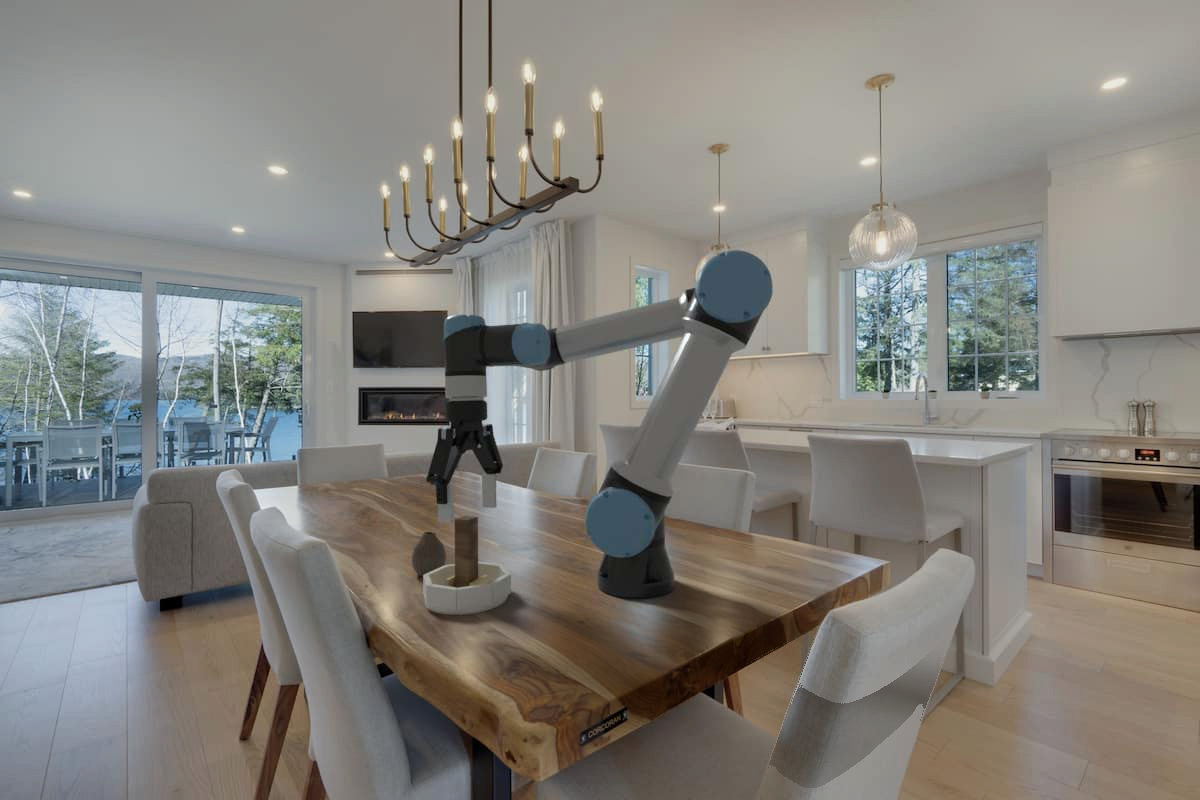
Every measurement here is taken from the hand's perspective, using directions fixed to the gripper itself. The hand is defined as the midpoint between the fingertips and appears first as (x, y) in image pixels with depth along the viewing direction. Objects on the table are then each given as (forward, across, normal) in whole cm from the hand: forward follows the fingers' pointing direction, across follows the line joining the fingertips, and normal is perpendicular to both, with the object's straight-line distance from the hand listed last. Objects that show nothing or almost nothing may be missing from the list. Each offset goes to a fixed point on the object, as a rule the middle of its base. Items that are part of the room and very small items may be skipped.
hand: (469, 514), depth 99 cm
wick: (+15, 0, -1) cm, 15 cm away
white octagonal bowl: (+16, 0, -1) cm, 16 cm away
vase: (+16, -9, -17) cm, 25 cm away
